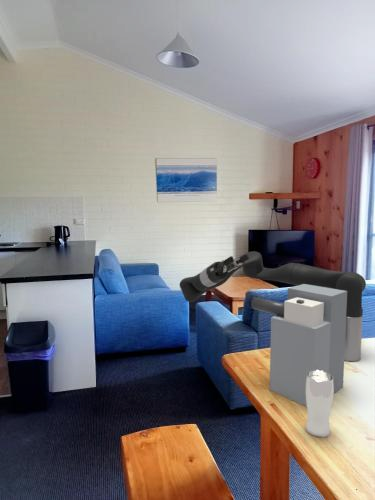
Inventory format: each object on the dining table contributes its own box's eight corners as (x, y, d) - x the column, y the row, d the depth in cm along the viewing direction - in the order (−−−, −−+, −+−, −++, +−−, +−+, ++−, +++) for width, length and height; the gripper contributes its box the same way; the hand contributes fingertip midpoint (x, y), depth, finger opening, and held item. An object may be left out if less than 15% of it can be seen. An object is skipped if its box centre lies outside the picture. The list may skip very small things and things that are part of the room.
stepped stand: (301, 371, 126) (304, 283, 123) (343, 387, 115) (347, 291, 111) (269, 389, 114) (271, 292, 110) (312, 409, 102) (316, 301, 99)
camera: (261, 306, 123) (261, 287, 122) (323, 322, 106) (324, 300, 105) (248, 310, 119) (248, 290, 118) (310, 327, 101) (311, 304, 101)
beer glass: (334, 440, 89) (336, 383, 87) (305, 436, 90) (307, 380, 88) (329, 423, 95) (331, 370, 94) (302, 420, 97) (303, 368, 95)
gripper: (228, 280, 145) (256, 264, 133) (203, 285, 135) (231, 269, 124) (221, 264, 147) (248, 246, 136) (196, 268, 138) (223, 249, 126)
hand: (240, 257), depth 130 cm, fingers open, 8 cm apart
